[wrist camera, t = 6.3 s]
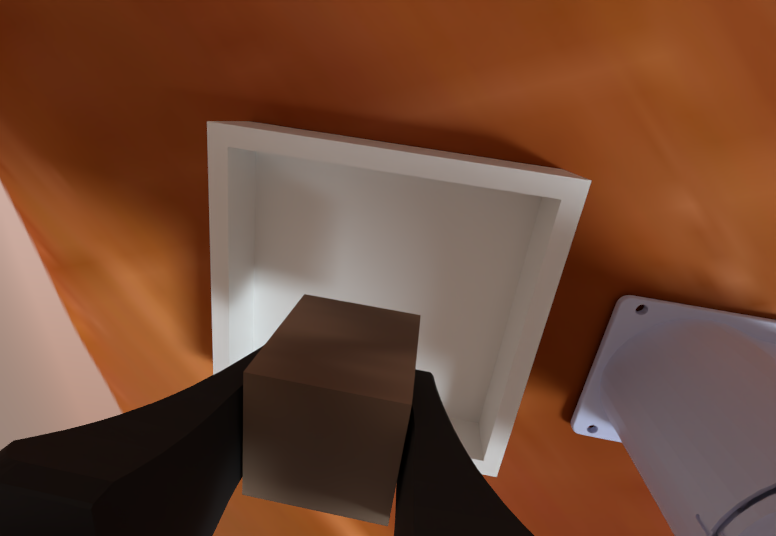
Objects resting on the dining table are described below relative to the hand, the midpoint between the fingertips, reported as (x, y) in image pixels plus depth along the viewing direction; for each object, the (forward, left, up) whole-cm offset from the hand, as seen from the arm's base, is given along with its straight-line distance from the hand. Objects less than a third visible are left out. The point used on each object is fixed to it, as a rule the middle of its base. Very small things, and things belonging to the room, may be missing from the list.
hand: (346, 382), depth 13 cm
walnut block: (0, 0, -1) cm, 1 cm away
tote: (0, 0, -8) cm, 8 cm away
